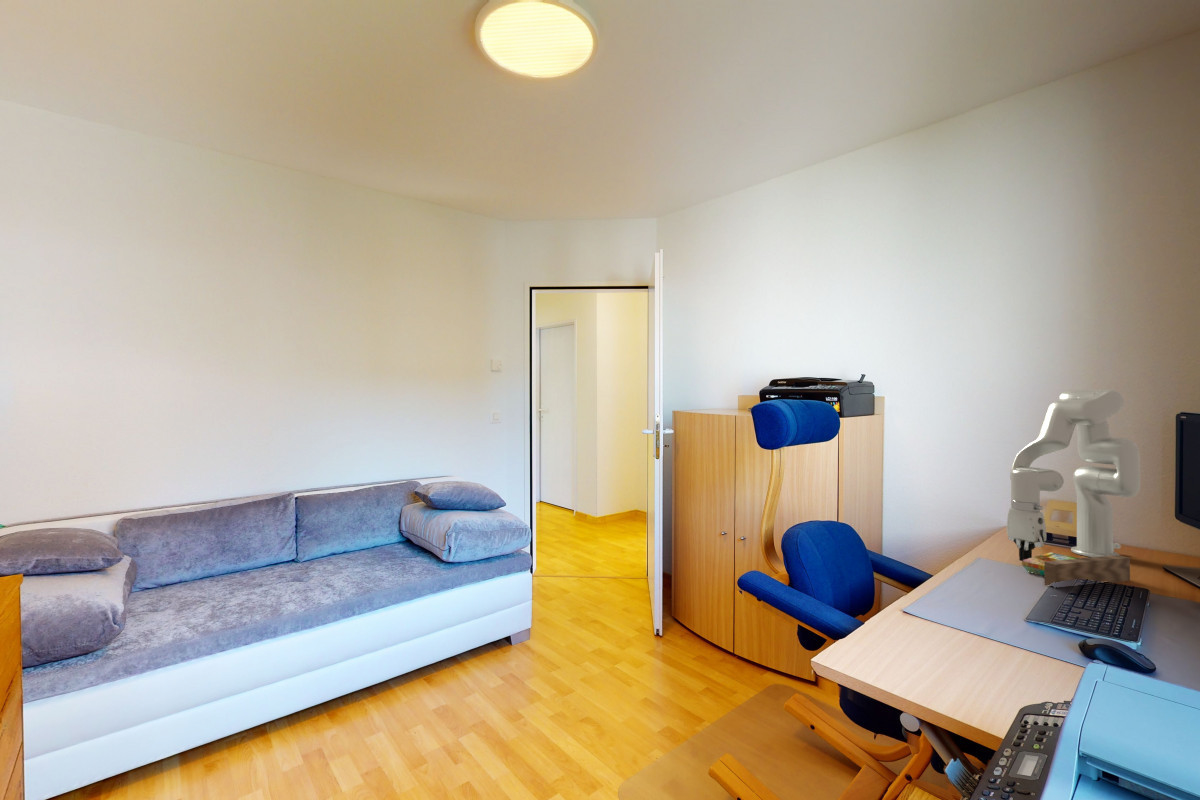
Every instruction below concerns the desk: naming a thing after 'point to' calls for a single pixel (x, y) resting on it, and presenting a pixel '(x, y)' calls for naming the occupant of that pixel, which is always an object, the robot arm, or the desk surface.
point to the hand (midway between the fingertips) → (1025, 560)
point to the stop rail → (1088, 569)
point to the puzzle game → (1042, 562)
